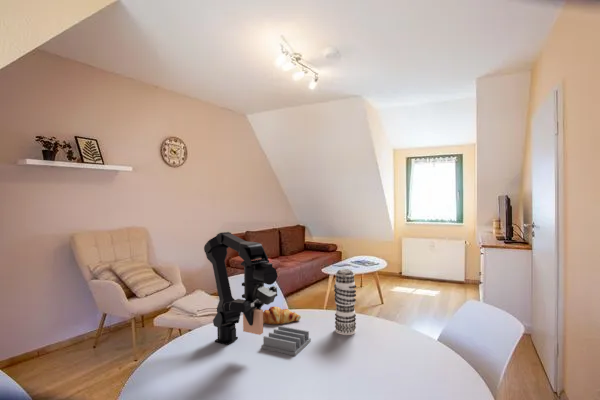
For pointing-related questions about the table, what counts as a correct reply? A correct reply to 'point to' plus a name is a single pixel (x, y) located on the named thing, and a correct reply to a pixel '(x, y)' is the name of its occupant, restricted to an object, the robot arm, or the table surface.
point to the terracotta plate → (254, 323)
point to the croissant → (279, 316)
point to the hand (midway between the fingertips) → (252, 324)
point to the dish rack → (286, 340)
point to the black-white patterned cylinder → (345, 302)
